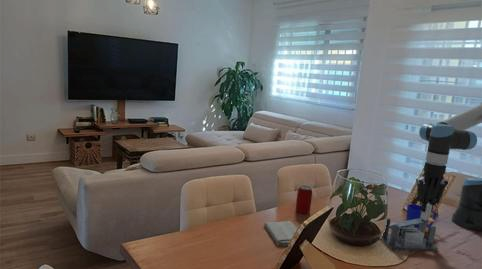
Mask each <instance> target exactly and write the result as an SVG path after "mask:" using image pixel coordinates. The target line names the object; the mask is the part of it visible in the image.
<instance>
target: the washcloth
mask: <svg viewBox="0 0 482 269" xmlns="http://www.w3.org/2000/svg"><path fill="white" fill-rule="evenodd" d="M263 226H264V227H265V229H266V231H267V232H268V234H269V235H270V236H271V237H272V239H273V241H274V242H275V244H276V246H284V247H286V246H288V244H289V242H290V240H291V238H292V237H293V235H294V233H295V232H296V230H297V229H298V227H297V226H296V225H295V224H294V223H293V222H292V221H289V220H287V221H269V222H268V221H266V222H264V224H263Z"/></svg>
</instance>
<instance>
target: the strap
mask: <svg viewBox="0 0 482 269" xmlns="http://www.w3.org/2000/svg"><path fill="white" fill-rule="evenodd" d="M435 221H436V220H433V217H430V219H429V221H427V220H426V221H425V220H423V219H421V218H418V219H413V220H407V221H406V220H403V221H402V220H401V221H396V222H390V223H387V226H388V227H389V230H392V225H393V224H397V225H399V227H398V228H403V227H408V226H414V225H419V224H425V223H426V224H430V223H431V222H433V223H435Z"/></svg>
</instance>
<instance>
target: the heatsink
mask: <svg viewBox="0 0 482 269" xmlns="http://www.w3.org/2000/svg"><path fill="white" fill-rule="evenodd" d="M386 218H387V223H391V219H390V218H389V217H386ZM426 225H427V223H425V224H419V229H418V228H414V227H415V226H408V227H403V228H398V227H399V225H397V224H393V225H392V229H390V228H389V227H388V226H387V225H386V229H385V232H384V233H383V236H382V238H381V240H382V241H383V242H384V243H385V244H384V243H383V242H382V241H381V240H380V241H381V242H382V243H383V244H384V245H385V246H387V247H388V248H389V249H390V250H391V251H438V250H439V247H437V246H436V245H435V244H434V240H435V235H436V232H437V230H436V229H437V226H436V225H435V226H434V225H431V226H429V227H428V230H427V231H428V232H427V235H426V238H424V237H425V233H426V228H427V227H426ZM389 230H390V231H391V232H390V233H389Z"/></svg>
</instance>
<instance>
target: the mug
mask: <svg viewBox="0 0 482 269" xmlns="http://www.w3.org/2000/svg"><path fill="white" fill-rule="evenodd" d="M431 213H432V214H433V217H432V219H433V220H435V219H436V216H437V212H436V211H432V212H431ZM405 215H406V216H405V218H406V219H405V221H407V220H413V219H418V218H420V216H421V205H420V204H415V203H409V204H407V205H406V214H405ZM435 221H436V220H435ZM433 224H434V222H430V223H428V224H426V228H429V226H433ZM414 226H415V227H414V228H418V229H419V225H414Z"/></svg>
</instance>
